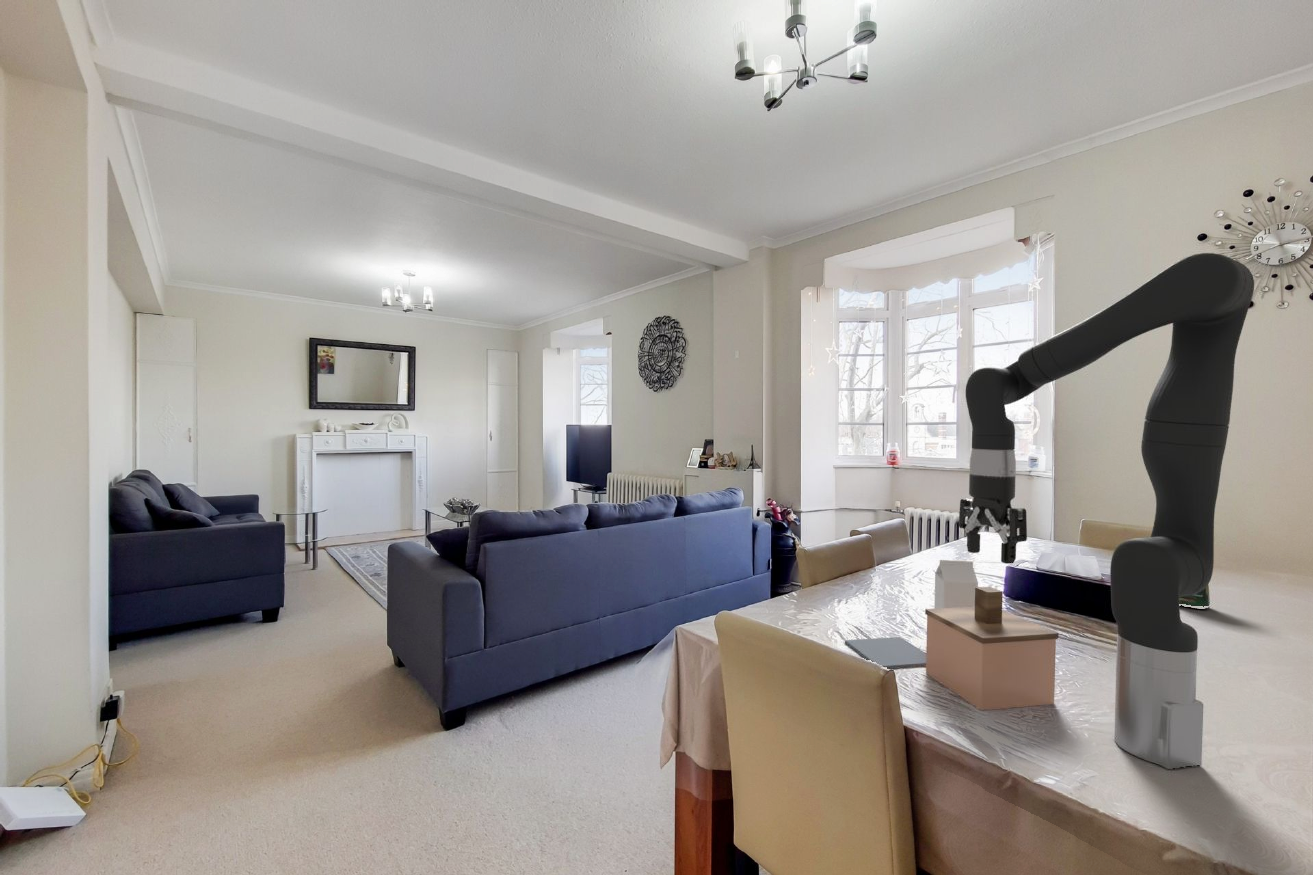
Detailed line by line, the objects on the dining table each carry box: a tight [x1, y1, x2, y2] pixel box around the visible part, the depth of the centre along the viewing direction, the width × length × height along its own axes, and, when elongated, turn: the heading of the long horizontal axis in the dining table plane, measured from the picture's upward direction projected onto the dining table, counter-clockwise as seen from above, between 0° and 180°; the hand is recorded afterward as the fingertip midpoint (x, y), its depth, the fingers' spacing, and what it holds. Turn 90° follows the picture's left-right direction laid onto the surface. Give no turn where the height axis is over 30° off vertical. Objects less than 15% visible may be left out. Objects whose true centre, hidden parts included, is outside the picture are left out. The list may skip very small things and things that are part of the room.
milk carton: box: [933, 559, 979, 609], centre depth 129 cm, size 7×7×19 cm
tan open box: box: [925, 615, 1057, 711], centre depth 107 cm, size 15×15×12 cm
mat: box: [844, 636, 926, 669], centre depth 122 cm, size 14×14×1 cm
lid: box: [924, 586, 1059, 644], centre depth 106 cm, size 16×16×7 cm
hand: (989, 557), depth 106 cm, fingers open, 8 cm apart
